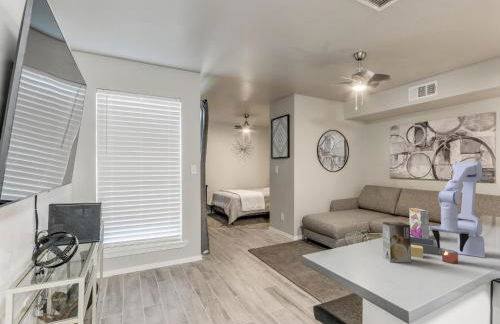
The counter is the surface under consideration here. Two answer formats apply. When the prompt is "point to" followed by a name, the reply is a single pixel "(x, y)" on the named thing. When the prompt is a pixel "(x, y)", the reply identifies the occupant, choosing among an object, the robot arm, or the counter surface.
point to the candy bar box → (419, 223)
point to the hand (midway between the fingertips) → (449, 249)
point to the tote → (426, 245)
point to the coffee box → (396, 242)
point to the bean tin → (449, 256)
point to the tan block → (416, 251)
